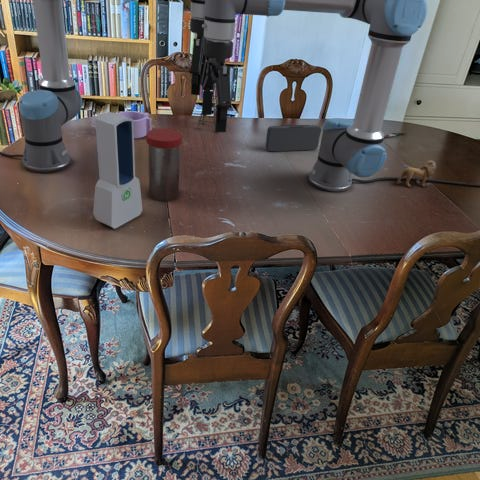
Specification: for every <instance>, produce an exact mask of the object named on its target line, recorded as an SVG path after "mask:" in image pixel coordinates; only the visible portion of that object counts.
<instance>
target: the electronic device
mask: <svg viewBox="0 0 480 480" xmlns="http://www.w3.org/2000/svg"><path fill="white" fill-rule="evenodd" d="M116 113H117V112H112V111H106V112H103V113H100V114H101V115H99V114H98V115H97V116H96V117H95V118H94V124H95V136H96V137H95V139H96V150H97V163H98V174H99V175H98V176H99V179H98V180H97V182H96V184H95V186H94V198H93V211H92V214H93V216H94V218H95V220H96V221H97V222H99V223H102V224H104V225H105V226H108V227H110V228H112V229H114V230H116V229H117V228H119V227H121V226H123V225H125V224H126V223H129V222H130V221H132V220H133V219H136V218H137V217H139V216H141V214H142V212H143V202H142V192H141V191H142V190H141V184H140V183H141V182H140V178H138V177H136V161H135V160H136V159H135V158H136V157H135V156H136V155H135V138H134V125H133V119H131V118H128V117H125V116H122V115H119V114H116Z"/></svg>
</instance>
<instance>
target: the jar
mask: <svg viewBox="0 0 480 480" xmlns="http://www.w3.org/2000/svg"><path fill="white" fill-rule="evenodd" d="M180 147H181V145H180V146H178V147H176V148H170V149H162V148H155V147H152V146H150V145H149V144H148V194H149V195H148V196H149V197H150V198H151V199H153V200H155V201H159V202H170V201H174V200H176V199H178V197H179V195H180V193H179V192H180V190H179V189H180V153H181V152H180Z"/></svg>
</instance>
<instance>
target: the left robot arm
mask: <svg viewBox="0 0 480 480" xmlns="http://www.w3.org/2000/svg"><path fill="white" fill-rule="evenodd" d="M63 6H64V5H63V0H32V7H33V12H34V13H33V14H34V21H35V28H36V35H37V43H38V49H39V58H40V65H41V73H42V77H41V79H40V80H39V82H38V87H39V89H37V90H36V89H35V90H33V91H28V92H25V93H24V94H22V95H21V96H20V98H19V100H18V105H19V106H18V111H19V114H20V119H21V126H22V132H23V136H24V148H23V153H22V154H9V153H4V152H2V151H0V155H1V156H4V157H8V158H21V159H22V160H21V161H22V166H23V168H24V169H25V170H27V171H29V172H33V173H39V174H46V173H56V172H61V171H63V170H66V169H67V168H69V167H70V166H71V163H72V159H71V155H70V153H69V151H68V150H67V149H68V148H67V147H66V145H65V143H64V140H63V132H62V126H64V125H65V124H67V123H68V122H69V121H71V120H73V119H74V118H76V116H78V114H79V113H80V112H81V110H82V107H83V98H82V93H80V91H79V90H78V89H77V87H76V81H75V80H74V79H72V78H71V75H70V74H71V73H70V64H69V55H68V45H67V36H66V27H65V26H66V24H65V18H64V7H63ZM189 14H190V19H189V20H190V21H189V31H190V32H191V33H193V34H196V35H195V36H196V38H193V40H192V41H193V46H192V56H191V63H190V69H189V70H188V73H189V74H191V83H190V84H191V85H190V87H191V88H190V95H192V96H193V95H194V96H200V95H201V80H202V74H203V69H204V64H205V55H204V54H203V40H204V39H205V37H204V28H202V24H204V23H205V22H204V20H205V0H190V13H189ZM202 63H203V64H202Z"/></svg>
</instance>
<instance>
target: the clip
mask: <svg viewBox="0 0 480 480" xmlns="http://www.w3.org/2000/svg"><path fill="white" fill-rule="evenodd" d="M115 113H116V114H119V115H122V116H125V117H128V118H131V119H133V125H134V139H140V138H144V137H146V134H147V132H148V131H150V130H153V129H152V127H153V126H152V118H151V117H150V113H149V112H142V111H138V110H137V111H135V110H124V111H119V112H115ZM101 114H102V113H100V114H98V116H99V115H101Z"/></svg>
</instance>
